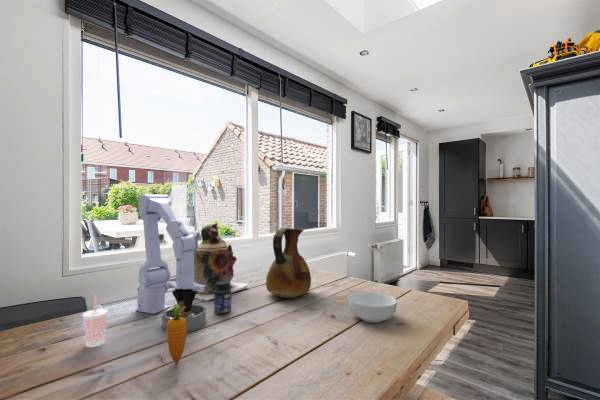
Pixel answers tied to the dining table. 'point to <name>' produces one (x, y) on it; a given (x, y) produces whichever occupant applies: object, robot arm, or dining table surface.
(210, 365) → the dining table surface
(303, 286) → the ceramic pitcher
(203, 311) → the grey ashtray
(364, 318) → the cereal bowl
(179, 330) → the carrot
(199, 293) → the cookie jar
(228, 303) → the pill bottle
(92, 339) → the beverage cup
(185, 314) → the tan wooden plank
